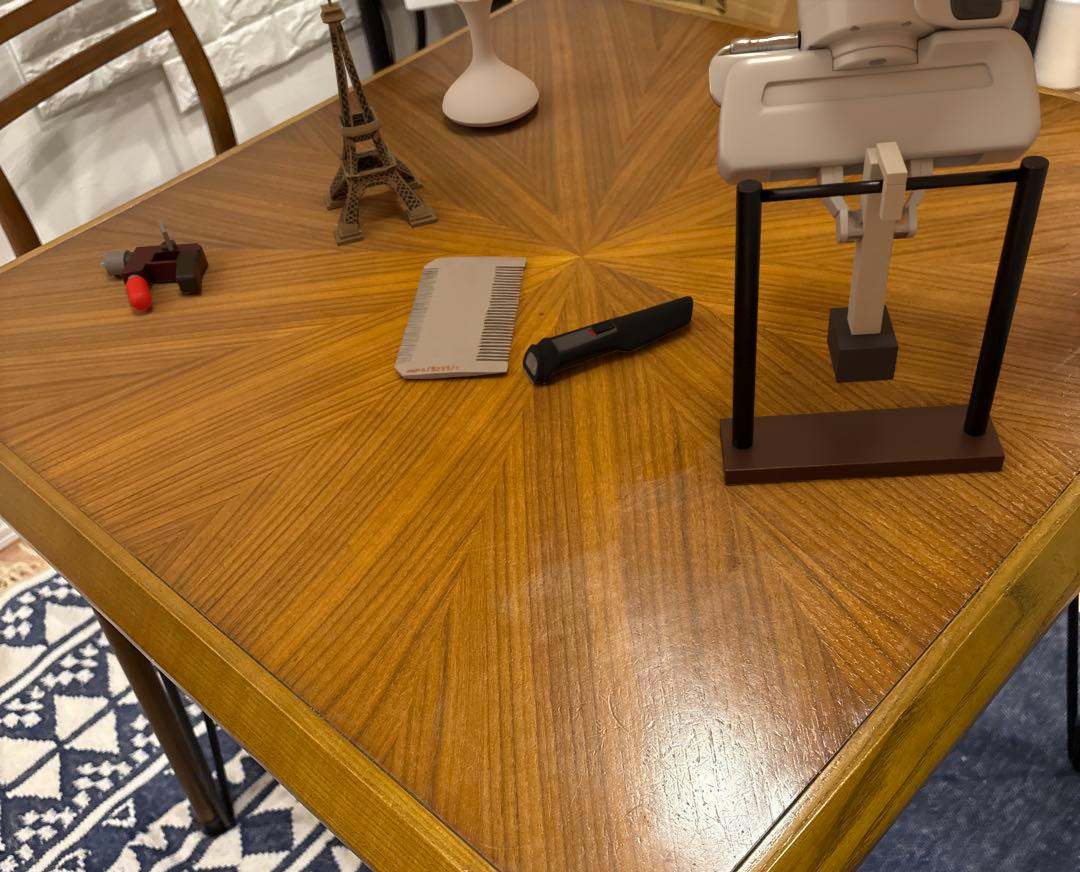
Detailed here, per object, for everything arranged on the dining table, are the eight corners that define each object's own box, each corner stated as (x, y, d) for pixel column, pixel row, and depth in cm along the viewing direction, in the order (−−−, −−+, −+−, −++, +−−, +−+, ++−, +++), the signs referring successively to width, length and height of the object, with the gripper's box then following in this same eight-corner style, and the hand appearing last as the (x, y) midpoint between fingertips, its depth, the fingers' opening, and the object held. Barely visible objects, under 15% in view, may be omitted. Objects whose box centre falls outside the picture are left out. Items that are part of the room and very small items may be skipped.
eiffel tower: (417, 175, 121) (366, -71, 103) (437, 221, 114) (386, -35, 96) (324, 198, 120) (256, -47, 102) (338, 245, 113) (267, -9, 95)
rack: (982, 417, 85) (1047, 135, 68) (1001, 470, 81) (1076, 184, 64) (719, 432, 87) (721, 163, 70) (725, 485, 83) (728, 212, 66)
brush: (826, 341, 82) (847, 125, 70) (881, 337, 82) (911, 120, 69) (839, 395, 78) (863, 175, 66) (897, 391, 77) (932, 169, 65)
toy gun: (110, 265, 115) (91, 224, 112) (219, 258, 114) (204, 216, 110) (77, 320, 109) (56, 278, 105) (193, 313, 107) (175, 270, 104)
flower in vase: (550, 91, 132) (524, -145, 114) (528, 137, 125) (496, -108, 107) (447, 92, 135) (406, -138, 117) (419, 137, 128) (371, -101, 110)
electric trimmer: (701, 337, 96) (702, 306, 94) (536, 390, 93) (532, 359, 91) (682, 315, 98) (682, 284, 96) (520, 366, 96) (516, 336, 93)
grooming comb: (507, 376, 94) (506, 369, 94) (392, 381, 96) (390, 374, 95) (527, 259, 107) (526, 252, 106) (425, 264, 109) (424, 258, 108)
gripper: (709, 20, 70) (719, 239, 70) (1045, -13, 68) (1054, 214, 68) (704, 60, 76) (714, 261, 76) (1012, 31, 74) (1020, 239, 74)
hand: (876, 239), depth 72 cm, fingers closed on brush, 2 cm apart
